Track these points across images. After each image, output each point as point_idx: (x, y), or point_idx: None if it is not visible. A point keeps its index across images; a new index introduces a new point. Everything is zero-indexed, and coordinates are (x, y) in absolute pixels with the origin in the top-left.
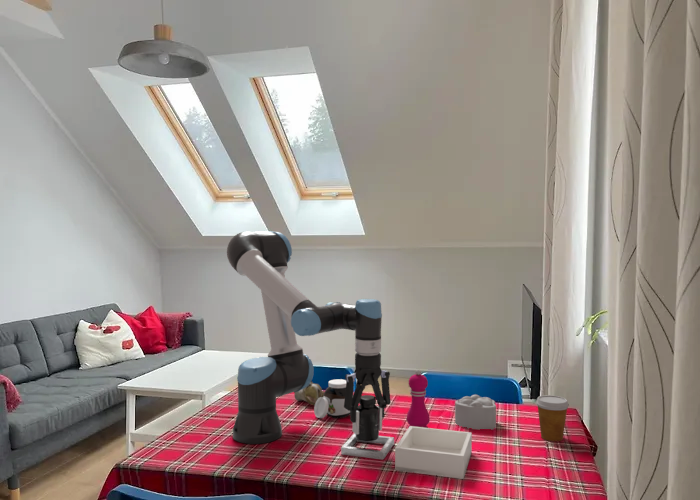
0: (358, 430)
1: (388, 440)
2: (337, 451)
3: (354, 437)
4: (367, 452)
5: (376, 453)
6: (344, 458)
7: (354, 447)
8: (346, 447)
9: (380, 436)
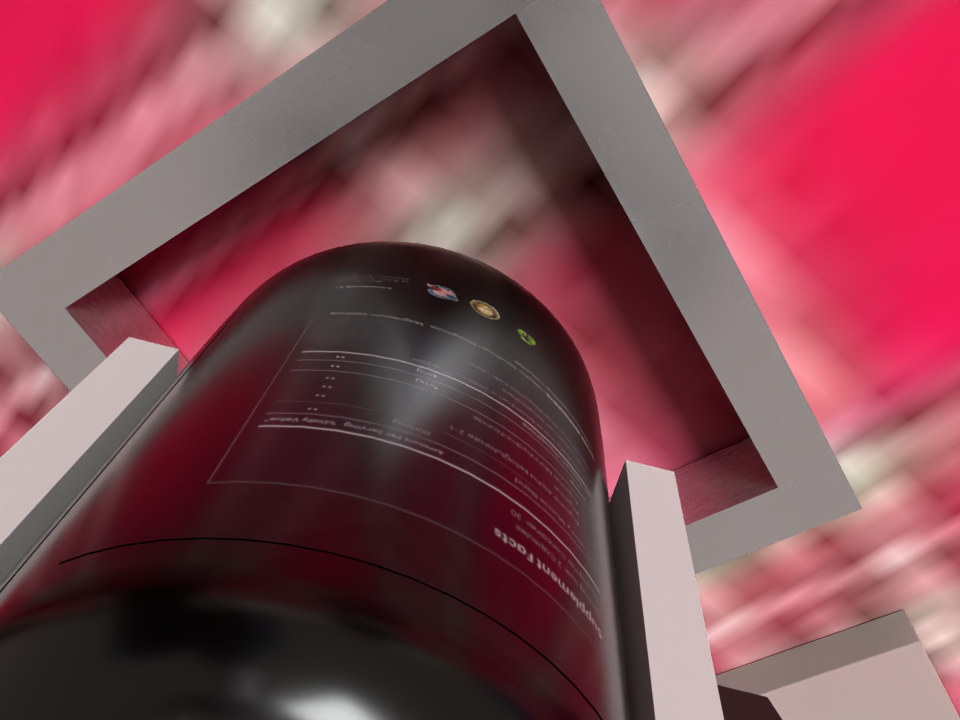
0: None
1: (697, 531)
2: (36, 134)
3: (379, 100)
4: None
5: None
6: (18, 368)
7: None
8: (43, 337)
9: (746, 356)
